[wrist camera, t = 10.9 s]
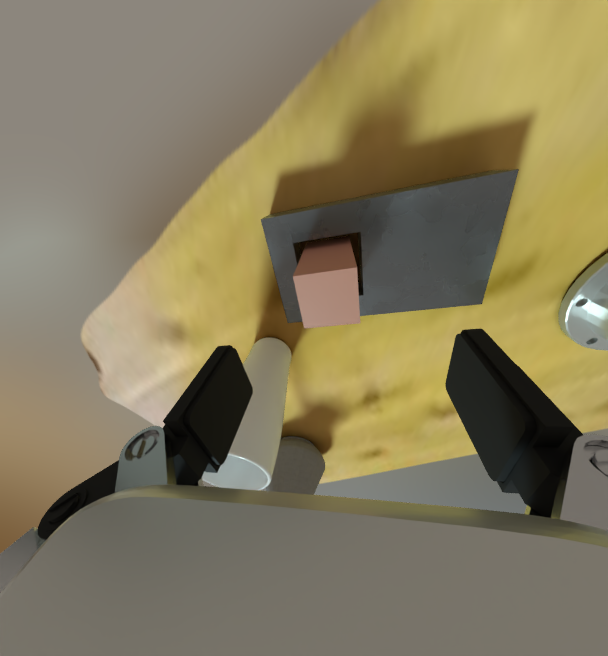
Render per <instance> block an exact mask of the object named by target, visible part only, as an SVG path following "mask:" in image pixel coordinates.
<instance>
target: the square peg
mask: <svg viewBox="0 0 608 656" xmlns="http://www.w3.org/2000/svg"><path fill="white" fill-rule="evenodd" d="M293 280H294V284H295V289H296V293H297V298H298V302H299V307H300V312H301V316H302V321H303V325H304V328H313V327H324V326H335V325H345V324H356V323H360V310H359V293H358V275H357V265H356V261H355V258H354V254H353V250H352V246H351V242H350V238H349V236H343V237H337V238H331V239H325V240H319V241H313V242H307V243H306V246H305V248H304V251H303V253H302V255H301V258H300V260H299V263H298V265H297V267H296V270H295V272H294V275H293Z"/></svg>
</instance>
